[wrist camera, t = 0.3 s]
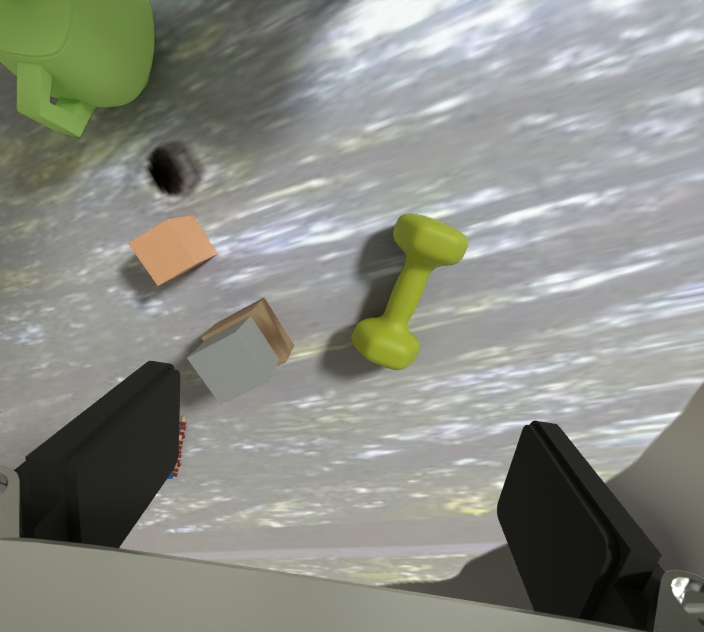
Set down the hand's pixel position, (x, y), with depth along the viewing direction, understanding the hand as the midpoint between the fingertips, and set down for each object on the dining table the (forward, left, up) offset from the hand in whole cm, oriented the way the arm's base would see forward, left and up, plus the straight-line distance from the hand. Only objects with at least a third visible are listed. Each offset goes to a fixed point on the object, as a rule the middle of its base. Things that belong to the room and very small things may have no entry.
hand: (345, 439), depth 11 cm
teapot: (-31, -13, -36) cm, 49 cm away
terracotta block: (-10, -18, -36) cm, 42 cm away
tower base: (+3, -17, -36) cm, 40 cm away
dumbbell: (+6, +2, -37) cm, 37 cm away
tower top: (+3, -17, -31) cm, 36 cm away
